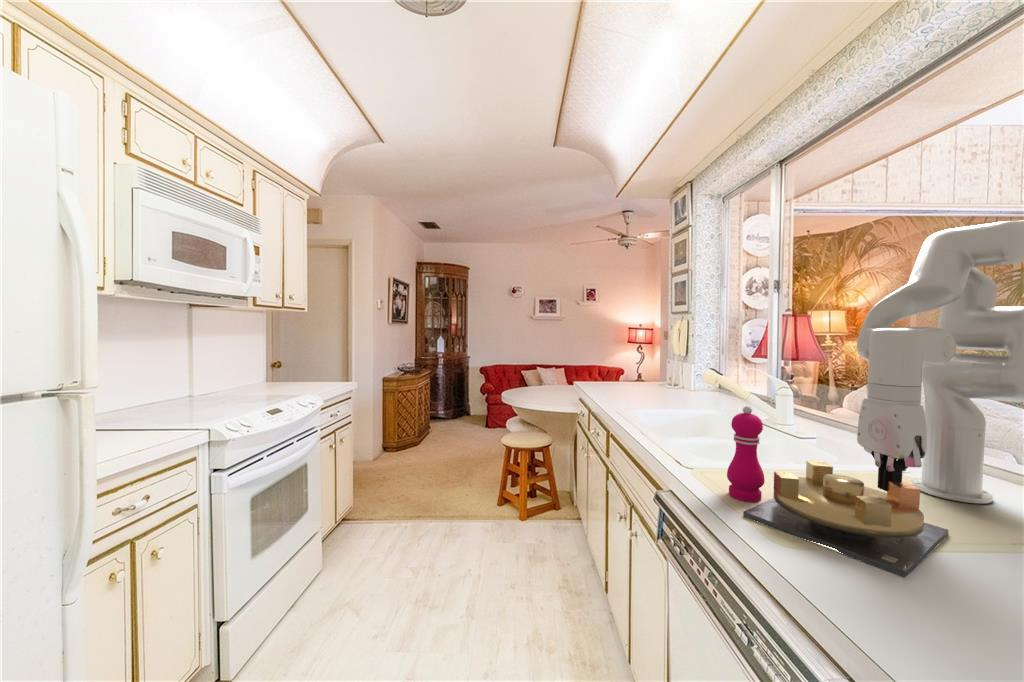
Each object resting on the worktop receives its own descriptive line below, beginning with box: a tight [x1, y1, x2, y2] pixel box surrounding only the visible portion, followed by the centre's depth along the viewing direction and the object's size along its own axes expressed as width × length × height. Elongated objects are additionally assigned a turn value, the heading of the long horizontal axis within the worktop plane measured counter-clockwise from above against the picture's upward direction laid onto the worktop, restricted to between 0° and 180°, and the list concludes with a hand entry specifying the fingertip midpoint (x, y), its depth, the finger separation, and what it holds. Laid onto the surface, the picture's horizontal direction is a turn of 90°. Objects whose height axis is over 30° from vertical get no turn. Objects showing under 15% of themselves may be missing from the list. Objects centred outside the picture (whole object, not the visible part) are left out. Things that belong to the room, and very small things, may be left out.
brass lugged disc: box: [773, 460, 925, 538], centre depth 80 cm, size 22×22×6 cm
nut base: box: [742, 497, 949, 579], centre depth 80 cm, size 24×24×3 cm
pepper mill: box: [726, 405, 765, 503], centre depth 92 cm, size 7×7×20 cm
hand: (889, 489), depth 80 cm, fingers closed
